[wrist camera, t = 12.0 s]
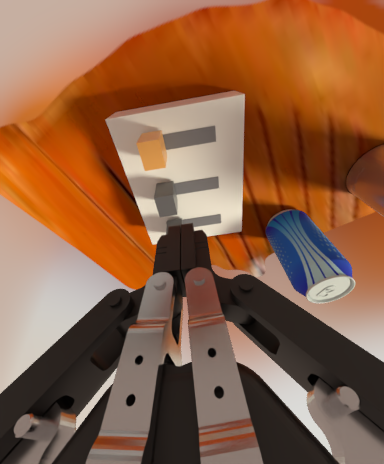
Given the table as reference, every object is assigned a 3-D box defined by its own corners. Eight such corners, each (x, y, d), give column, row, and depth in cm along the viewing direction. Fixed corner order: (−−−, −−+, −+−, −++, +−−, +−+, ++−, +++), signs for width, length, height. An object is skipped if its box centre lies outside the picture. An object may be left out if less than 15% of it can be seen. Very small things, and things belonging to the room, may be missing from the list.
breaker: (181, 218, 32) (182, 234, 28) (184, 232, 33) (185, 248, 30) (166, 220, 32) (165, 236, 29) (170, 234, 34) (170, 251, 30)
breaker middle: (173, 180, 27) (172, 194, 24) (177, 199, 29) (177, 214, 26) (156, 183, 27) (153, 197, 24) (161, 201, 29) (159, 217, 26)
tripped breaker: (161, 130, 23) (159, 139, 20) (167, 155, 25) (165, 167, 22) (141, 133, 23) (136, 143, 20) (148, 158, 25) (144, 171, 22)
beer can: (257, 219, 39) (294, 287, 27) (300, 198, 37) (361, 263, 24) (270, 244, 44) (306, 312, 32) (308, 227, 42) (364, 294, 29)
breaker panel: (234, 90, 26) (245, 94, 22) (235, 215, 38) (241, 231, 34) (115, 112, 26) (104, 119, 22) (155, 227, 39) (152, 244, 35)
